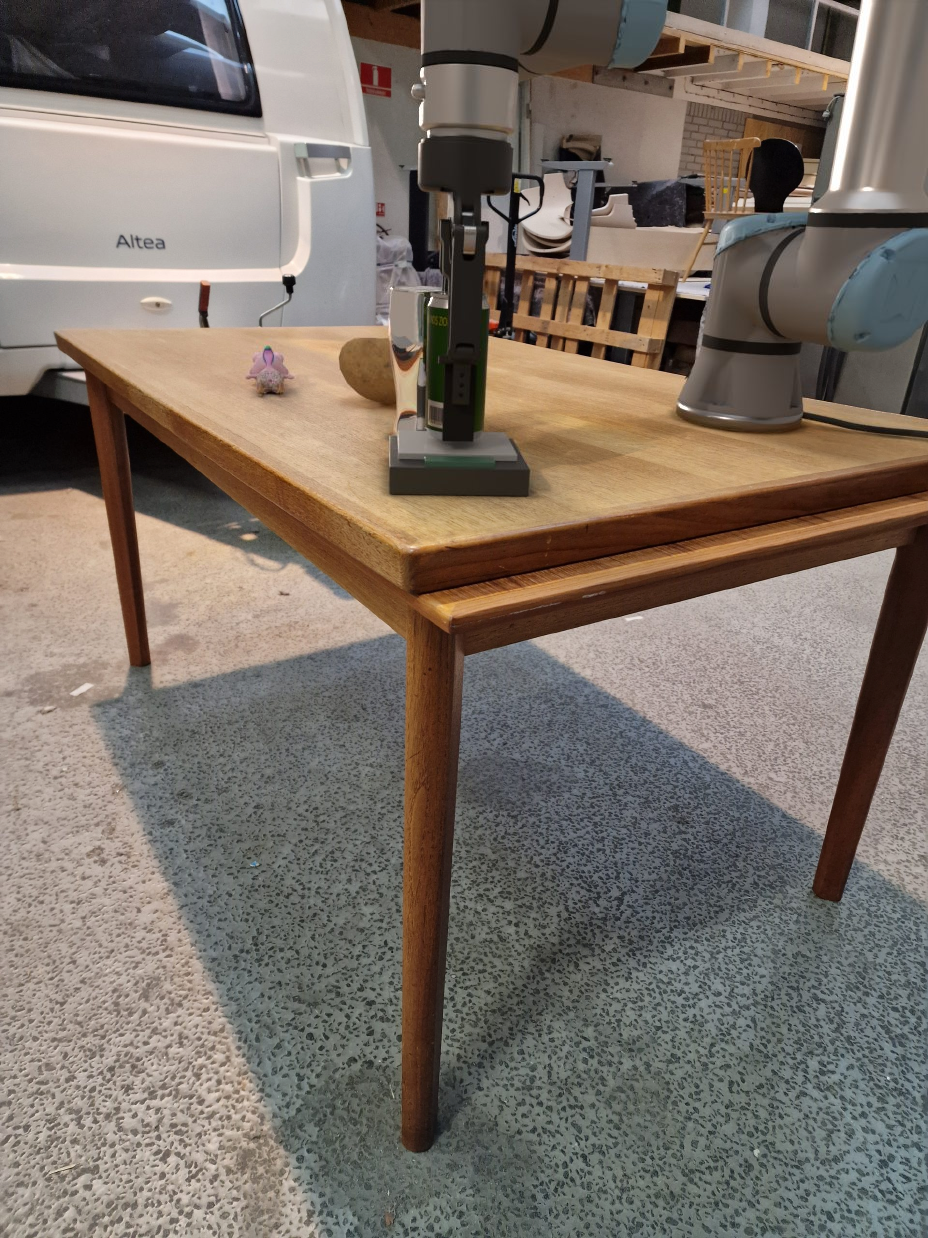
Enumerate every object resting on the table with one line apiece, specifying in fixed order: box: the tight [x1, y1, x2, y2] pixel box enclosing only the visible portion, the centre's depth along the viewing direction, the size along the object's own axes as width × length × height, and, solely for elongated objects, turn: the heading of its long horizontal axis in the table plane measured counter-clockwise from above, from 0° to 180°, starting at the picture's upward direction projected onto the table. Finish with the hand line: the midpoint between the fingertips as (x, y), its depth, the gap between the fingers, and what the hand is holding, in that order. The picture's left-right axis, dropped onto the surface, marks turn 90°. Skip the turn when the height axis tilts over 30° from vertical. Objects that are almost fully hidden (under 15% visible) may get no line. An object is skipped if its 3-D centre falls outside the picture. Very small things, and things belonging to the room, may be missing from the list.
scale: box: [388, 430, 531, 497], centre depth 75 cm, size 12×11×3 cm
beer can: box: [425, 291, 491, 440], centre depth 72 cm, size 5×5×12 cm
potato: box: [338, 337, 396, 406], centre depth 102 cm, size 10×14×8 cm
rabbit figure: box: [244, 344, 295, 397], centre depth 109 cm, size 6×6×15 cm
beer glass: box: [387, 285, 442, 436], centre depth 85 cm, size 7×7×15 cm
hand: (455, 431), depth 74 cm, fingers closed on beer can, 5 cm apart
